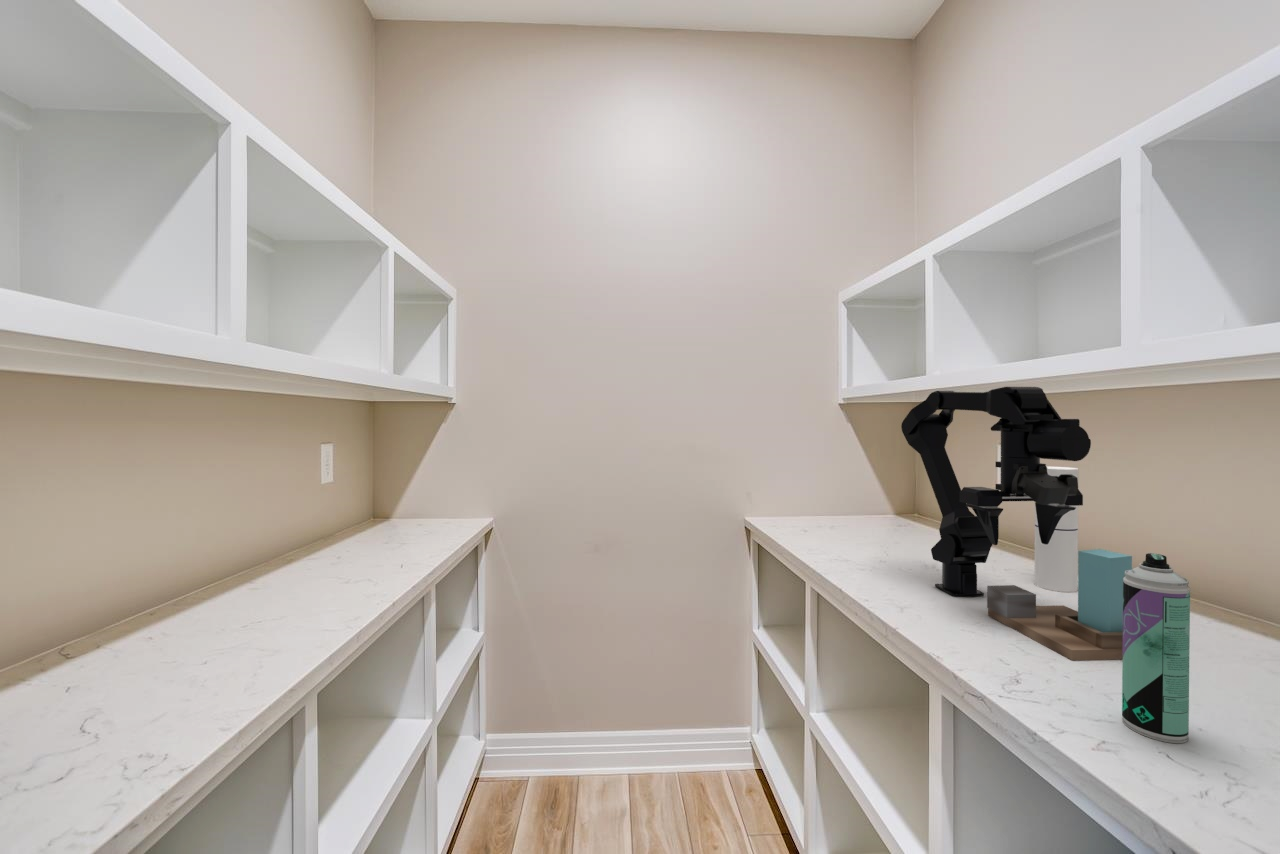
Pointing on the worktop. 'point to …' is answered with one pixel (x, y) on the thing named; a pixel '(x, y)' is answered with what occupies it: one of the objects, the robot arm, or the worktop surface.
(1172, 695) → the spray can
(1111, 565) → the teal column
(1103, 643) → the walnut base board
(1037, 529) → the cylindrical container
